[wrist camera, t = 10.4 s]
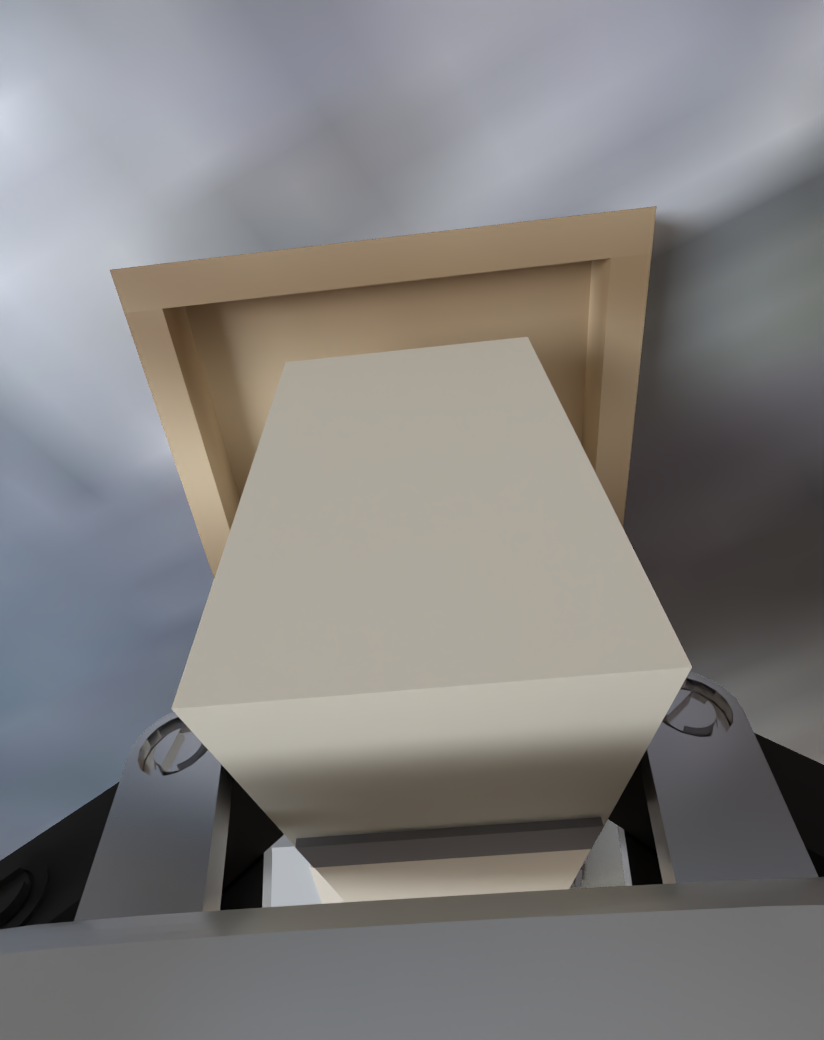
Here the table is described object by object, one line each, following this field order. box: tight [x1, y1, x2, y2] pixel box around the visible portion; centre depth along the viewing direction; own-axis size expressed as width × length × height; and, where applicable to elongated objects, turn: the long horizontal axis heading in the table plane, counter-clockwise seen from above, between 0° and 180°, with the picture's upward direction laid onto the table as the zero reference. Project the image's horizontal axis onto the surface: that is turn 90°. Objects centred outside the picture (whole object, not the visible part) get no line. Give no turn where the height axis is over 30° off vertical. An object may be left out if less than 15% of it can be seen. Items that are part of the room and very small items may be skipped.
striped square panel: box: [271, 835, 345, 907], centre depth 18 cm, size 8×10×2 cm
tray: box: [110, 206, 656, 578], centre depth 12 cm, size 13×9×2 cm
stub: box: [172, 337, 692, 902], centre depth 9 cm, size 8×4×6 cm, turn 5°
